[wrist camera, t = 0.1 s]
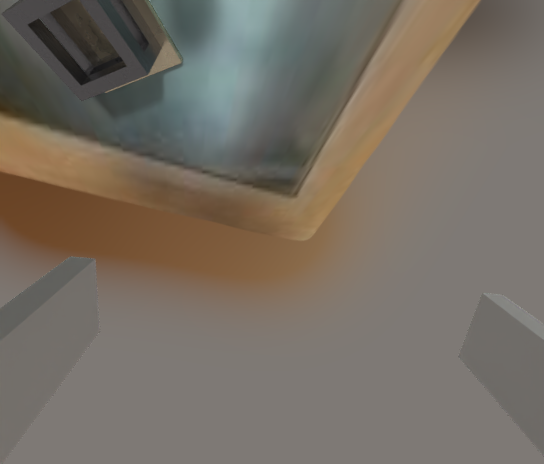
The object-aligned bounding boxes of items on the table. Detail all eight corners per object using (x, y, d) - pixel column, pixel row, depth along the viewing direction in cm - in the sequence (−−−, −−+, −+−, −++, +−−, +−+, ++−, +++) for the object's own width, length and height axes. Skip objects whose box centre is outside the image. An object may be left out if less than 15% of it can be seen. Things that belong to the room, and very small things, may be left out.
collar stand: (7, -33, 33) (-33, -8, 29) (96, -89, 29) (65, -70, 25) (107, 89, 43) (88, 120, 40) (183, 59, 40) (170, 89, 36)
